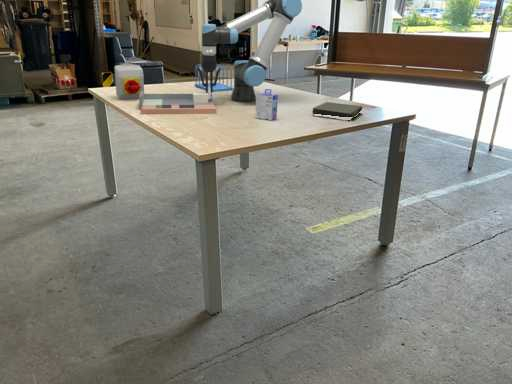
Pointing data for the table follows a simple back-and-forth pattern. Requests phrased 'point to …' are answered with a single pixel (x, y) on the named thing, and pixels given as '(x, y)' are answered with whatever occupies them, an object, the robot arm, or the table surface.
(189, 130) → the table surface
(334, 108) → the network switch
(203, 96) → the block
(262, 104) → the ink cartridge box
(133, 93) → the electrical switch box
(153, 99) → the trap box
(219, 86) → the file sorter
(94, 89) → the table surface
